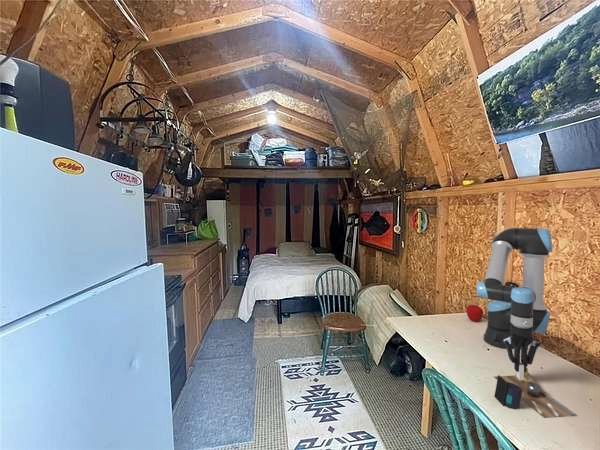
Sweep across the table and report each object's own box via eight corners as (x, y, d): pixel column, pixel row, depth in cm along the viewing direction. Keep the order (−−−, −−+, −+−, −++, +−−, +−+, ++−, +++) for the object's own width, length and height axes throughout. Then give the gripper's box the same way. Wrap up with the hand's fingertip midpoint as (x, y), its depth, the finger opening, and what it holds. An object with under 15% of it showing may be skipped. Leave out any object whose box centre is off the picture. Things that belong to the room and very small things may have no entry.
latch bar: (541, 398, 112) (542, 387, 111) (529, 396, 113) (529, 385, 113) (527, 377, 126) (528, 367, 125) (516, 375, 127) (517, 365, 127)
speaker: (497, 408, 109) (500, 382, 108) (493, 399, 114) (496, 374, 113) (521, 415, 106) (525, 388, 105) (516, 406, 111) (520, 380, 110)
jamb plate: (518, 377, 128) (518, 373, 128) (575, 419, 103) (575, 414, 103) (493, 379, 127) (493, 375, 127) (544, 421, 102) (544, 416, 102)
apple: (469, 323, 186) (469, 307, 186) (463, 317, 196) (463, 302, 195) (486, 324, 185) (486, 307, 184) (479, 318, 194) (479, 302, 194)
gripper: (507, 327, 119) (506, 381, 120) (544, 330, 116) (542, 385, 117) (500, 320, 126) (498, 371, 128) (534, 322, 123) (532, 375, 125)
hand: (519, 378), depth 122 cm, fingers closed
